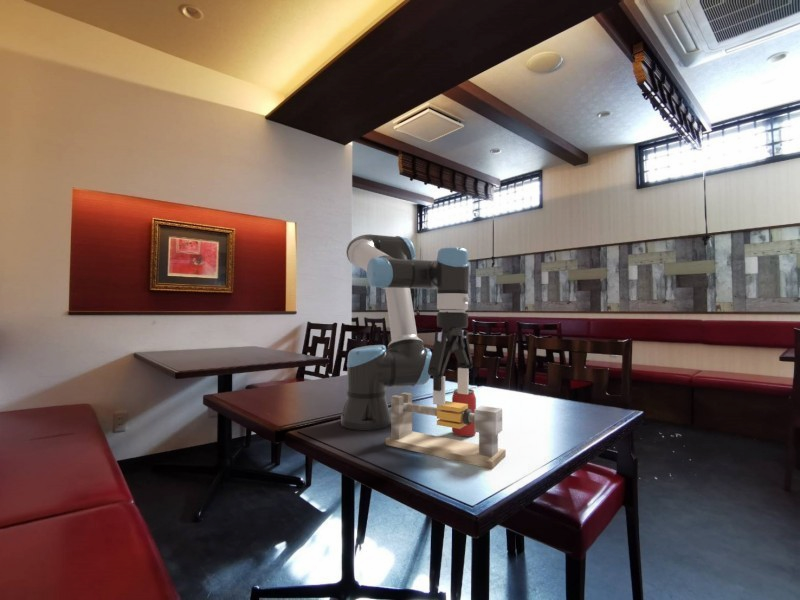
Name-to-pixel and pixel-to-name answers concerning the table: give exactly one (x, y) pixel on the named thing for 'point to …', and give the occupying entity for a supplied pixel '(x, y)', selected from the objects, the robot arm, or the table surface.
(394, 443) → the rod stand with block
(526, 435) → the table surface
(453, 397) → the beer can
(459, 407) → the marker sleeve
